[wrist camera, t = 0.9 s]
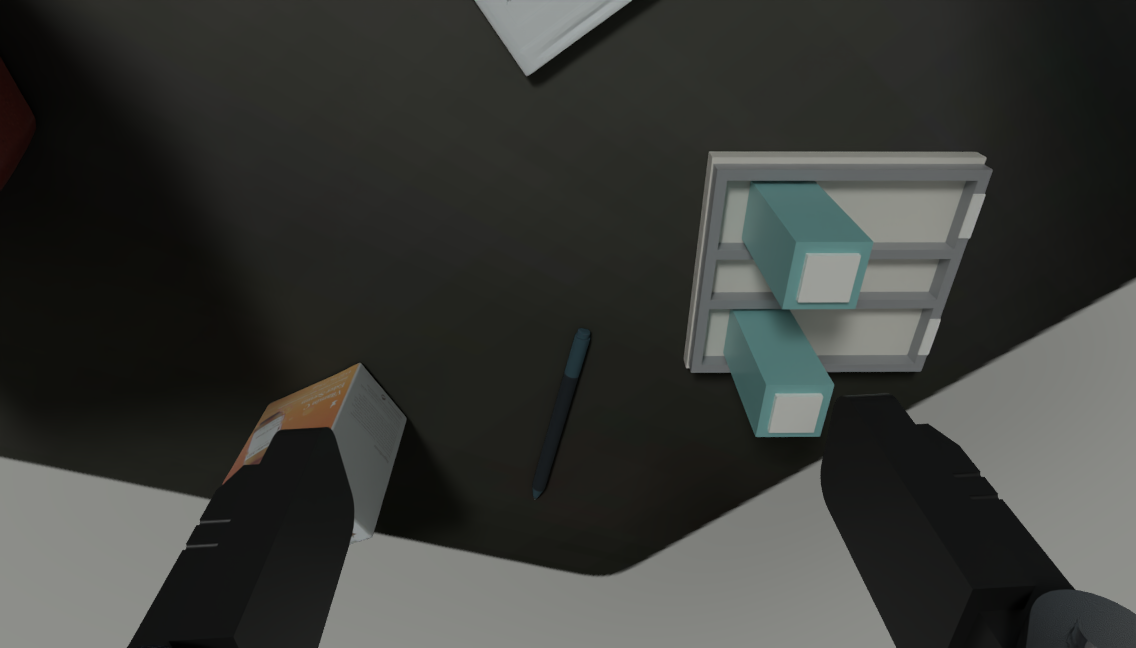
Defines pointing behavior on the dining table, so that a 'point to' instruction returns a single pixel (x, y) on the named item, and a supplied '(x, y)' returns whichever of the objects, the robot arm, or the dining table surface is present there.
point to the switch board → (896, 264)
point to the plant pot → (13, 125)
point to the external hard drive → (544, 25)
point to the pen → (561, 410)
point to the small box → (341, 435)
